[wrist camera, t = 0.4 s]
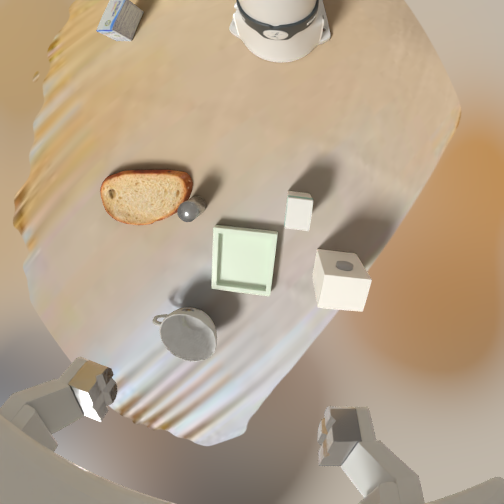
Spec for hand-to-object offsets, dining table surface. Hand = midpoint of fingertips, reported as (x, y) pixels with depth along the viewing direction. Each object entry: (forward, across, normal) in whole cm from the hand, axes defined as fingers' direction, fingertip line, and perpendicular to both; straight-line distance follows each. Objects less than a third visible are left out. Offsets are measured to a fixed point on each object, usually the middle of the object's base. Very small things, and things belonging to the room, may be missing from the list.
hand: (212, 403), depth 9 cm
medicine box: (+46, +33, -37) cm, 68 cm away
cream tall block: (+46, -14, +12) cm, 50 cm away
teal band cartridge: (+46, -5, +1) cm, 46 cm away
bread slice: (+47, +26, +1) cm, 54 cm away
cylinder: (+46, +14, +3) cm, 48 cm away
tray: (+46, +4, +13) cm, 48 cm away
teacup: (+47, +15, +29) cm, 57 cm away
